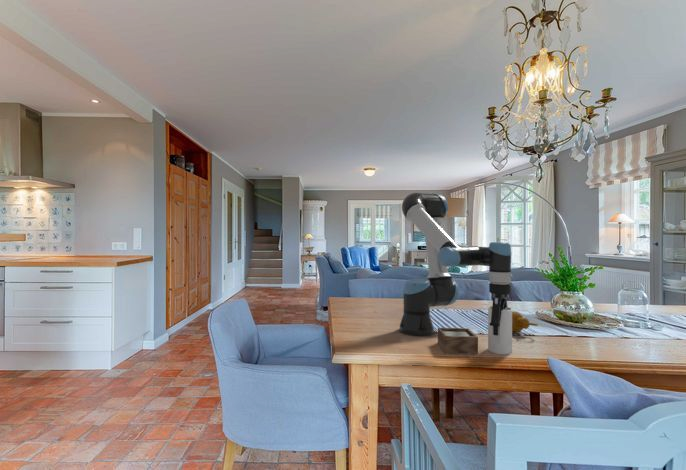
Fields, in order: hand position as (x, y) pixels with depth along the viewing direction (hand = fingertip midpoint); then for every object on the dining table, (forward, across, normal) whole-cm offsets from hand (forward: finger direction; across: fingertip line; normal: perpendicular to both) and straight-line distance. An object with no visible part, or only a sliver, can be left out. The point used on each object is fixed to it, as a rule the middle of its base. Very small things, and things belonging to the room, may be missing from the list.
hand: (499, 339), depth 128 cm
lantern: (+4, +31, +1) cm, 31 cm away
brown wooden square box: (+4, -7, +14) cm, 16 cm away
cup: (+4, 0, 0) cm, 4 cm away
